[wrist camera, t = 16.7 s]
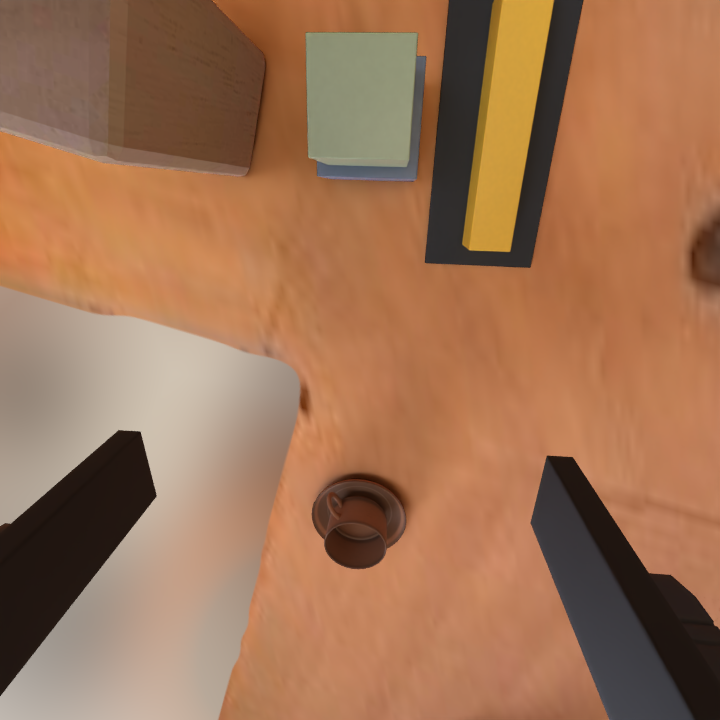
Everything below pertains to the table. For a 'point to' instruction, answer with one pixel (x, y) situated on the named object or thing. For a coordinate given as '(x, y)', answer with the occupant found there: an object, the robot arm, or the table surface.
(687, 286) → the table surface
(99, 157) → the block
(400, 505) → the cup and saucer
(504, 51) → the bar
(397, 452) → the table surface
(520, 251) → the mat
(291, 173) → the table surface
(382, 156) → the tower
